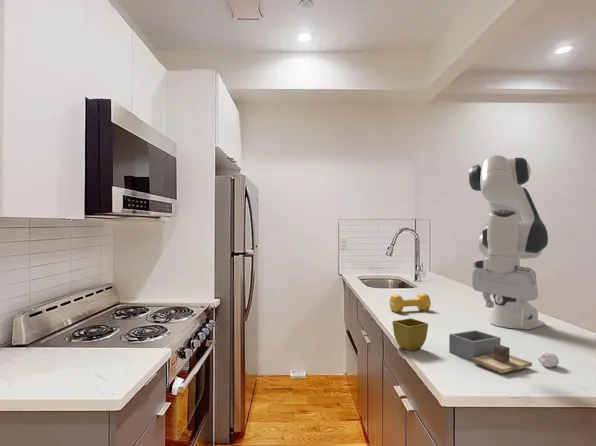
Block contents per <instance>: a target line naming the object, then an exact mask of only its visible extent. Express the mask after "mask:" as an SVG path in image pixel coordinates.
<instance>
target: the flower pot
mask: <svg viewBox="0 0 596 446" xmlns="http://www.w3.org/2000/svg"><path fill="white" fill-rule="evenodd" d="M428 328H429V323H428V322H425V321H422V320H418V319H415V318H405V319H404V318H403V319H399V320H398V319H397V320H392V329H393V336H394V339H395V341H396V344H398V346H399V348H402V349H404V350H407V351H409V352H410V351H414V350H420V349H422V347H423V346H424V344H425V342H426V340H427V336H428Z"/></svg>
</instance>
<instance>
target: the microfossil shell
mask: <svg viewBox="0 0 596 446" xmlns="http://www.w3.org/2000/svg"><path fill="white" fill-rule="evenodd" d="M537 360H538V362H539V363H540V364H541V365H542V366H544V367H545V368H553V367H554V368H555V367H556V366H558V365H559V362H560V360H559V358H558V356H557V355H556V354H555V353H554V352H549V351H542V352H541V353H540V354H539V355H538V357H537Z"/></svg>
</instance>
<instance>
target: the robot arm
mask: <svg viewBox="0 0 596 446" xmlns="http://www.w3.org/2000/svg"><path fill="white" fill-rule="evenodd" d="M531 172H532V169H531V165H530V164H529V162H528V161H527V159H525V158H524V157H514V158H507V157H505V156H503V155H500V154H499V155H496V154H495V155H491V156H490V157H487V158H486V159H485V160H484V161H483V163H482V164H479V163H478V164H475V165H473V166H471V167H470V168H469V169H468V172H467V183H468V185H469V186H470V188H471V189H472V190H473V191H477V192H481V194H482V196H483V197H484V198H485V200H487V204H488V211H489V215H488V220H487V222H486V223H485V225H483V226H482V227H481V231H482V232H481V233H482V234H481V235H479V237H478V239H477V248H478V250H479V252H480V253H481V254H482V255H483V256H484V257H485V258H481V259H478V260H475V261H473V262H472V266H473V268H474V269H473V270H472V273H471V274H472V277H471V278H472V279H471V285H472V286H471V287H472V288H473V290H474V291H475V292H476V291H477V292H479V293H480V292H481V293H482V297H483V300H485V301H484V302H485V307H486V308H491V309H490V310H491V311H490V317H488V321H489V323H490V325H493V326H497V327H501V328H507V329H508V328H509V329H520V330H531V329H535V328H538V327H542V326H544V325H545V324H546V323H545V321H543V320H540V319H539V312H538V309H537V308H535V306H534V305H532V304H530V301H532V302H533V301H536V300H537V298H538V297H539V293H538V292H539V290H538V284H537V273H536V271H534V270H533V269H532V268H531V267H526V266H525V267H524V266H520V265H521V264H520V262H521V260H529V259H537V258H538V257H539V256H541V254H542V252H543V250H544V249H545V248H547V246H548V244H549V243H548V242H549V232H548V230H547V227H546V225H545V223H544V222H543V220H542V219H541V217H540V215H539V213H538V210H537V208H536V206H535V204H534V201H533V198H532V197H531V194H530V193H529V191H528V189H527V188H526V187H524V186H522V185H525V184H527V182H529V180H530V177H531V174H532V173H531ZM491 296H492V298H493V301H492V298H491Z"/></svg>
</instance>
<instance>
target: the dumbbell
mask: <svg viewBox="0 0 596 446" xmlns="http://www.w3.org/2000/svg"><path fill="white" fill-rule="evenodd" d="M431 304H432V303H431V298H430V296H429V294H427V293H426V292H425V293H424V292H422V293H421V292H420V293H418V294H417V296H416V298H407V299H403V297H402V295H399V294H396V293H395V294H391V295H390V298H389V307H390V311H392V312H393V313H396V314H398V313H401V312H403V309H404V308H405V307H407V308H408V307H416V308H417V309H418V310H419V311H421V312H428V311H429V310H430V308H431Z"/></svg>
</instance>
